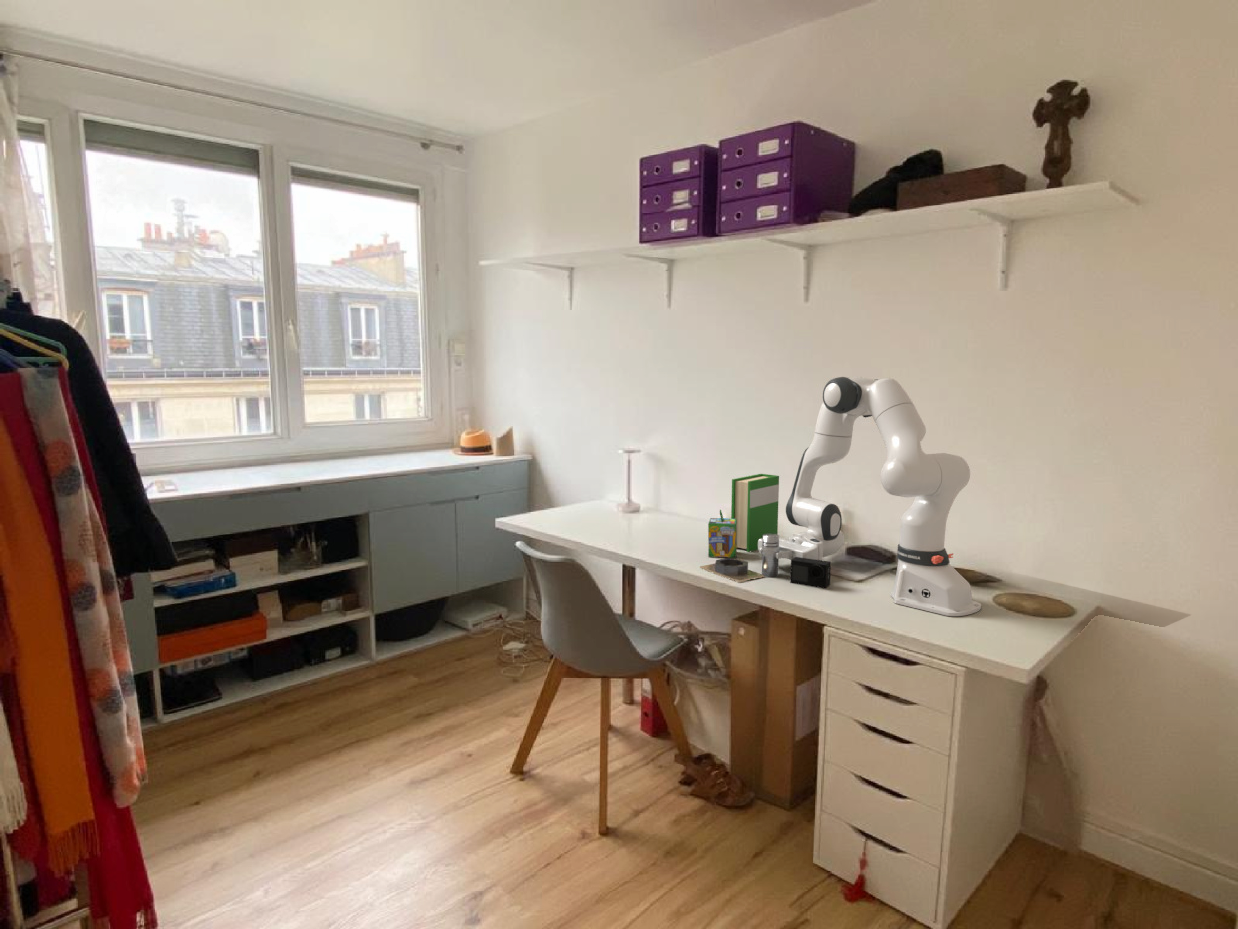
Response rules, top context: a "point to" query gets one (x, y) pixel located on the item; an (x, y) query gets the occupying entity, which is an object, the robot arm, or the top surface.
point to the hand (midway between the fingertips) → (768, 553)
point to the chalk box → (722, 537)
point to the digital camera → (810, 572)
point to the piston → (770, 555)
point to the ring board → (732, 569)
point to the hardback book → (755, 508)
